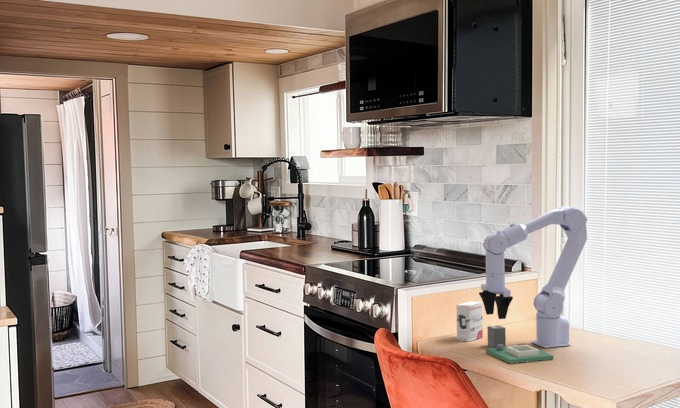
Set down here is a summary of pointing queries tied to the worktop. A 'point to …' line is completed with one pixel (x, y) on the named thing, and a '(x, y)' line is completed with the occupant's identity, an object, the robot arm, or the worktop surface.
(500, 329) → the plug
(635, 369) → the worktop surface
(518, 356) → the board
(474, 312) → the ink box
